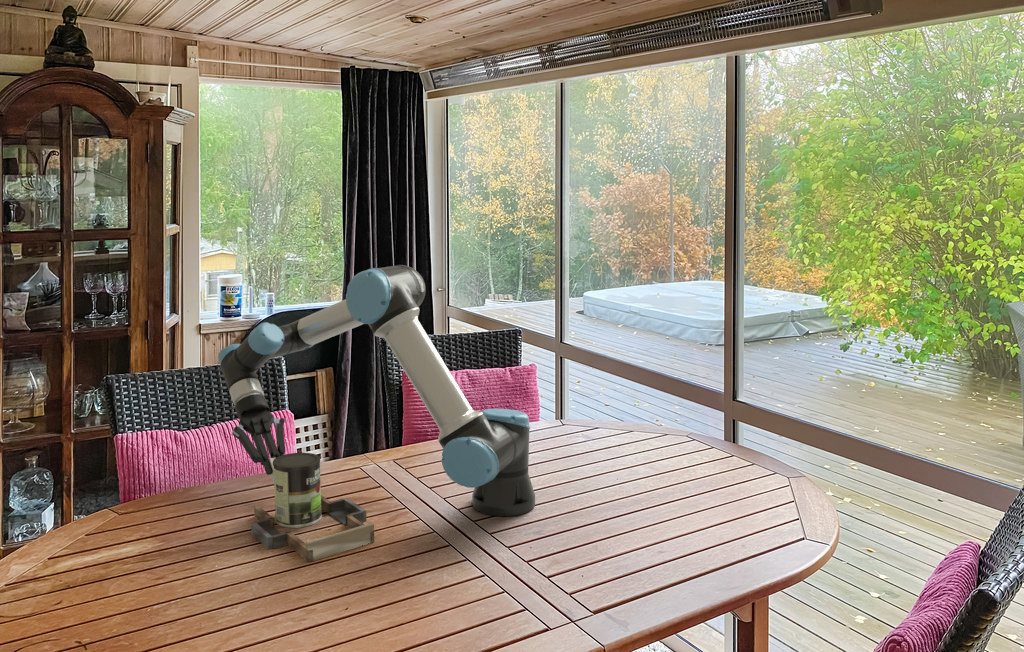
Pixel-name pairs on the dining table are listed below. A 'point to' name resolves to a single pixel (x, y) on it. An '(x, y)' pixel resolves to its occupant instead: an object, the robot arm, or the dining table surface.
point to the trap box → (322, 546)
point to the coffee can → (297, 489)
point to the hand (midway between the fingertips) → (279, 484)
